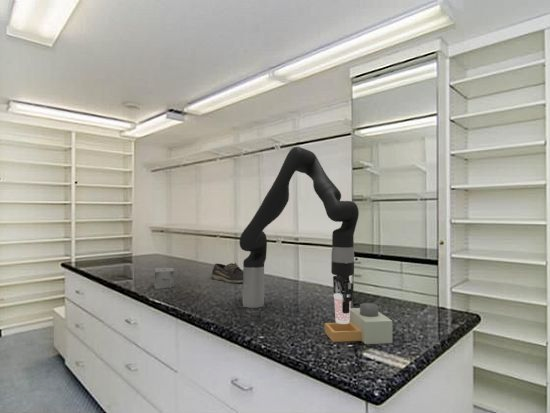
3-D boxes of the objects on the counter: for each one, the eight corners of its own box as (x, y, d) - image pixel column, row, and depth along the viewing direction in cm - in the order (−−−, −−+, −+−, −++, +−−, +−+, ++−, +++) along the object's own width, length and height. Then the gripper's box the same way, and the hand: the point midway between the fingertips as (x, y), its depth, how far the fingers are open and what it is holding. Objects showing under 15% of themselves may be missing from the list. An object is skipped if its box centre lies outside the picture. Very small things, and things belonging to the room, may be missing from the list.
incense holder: (154, 289, 188) (154, 270, 188) (154, 286, 196) (154, 267, 196) (173, 288, 191) (174, 269, 191) (173, 285, 199) (173, 266, 199)
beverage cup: (334, 318, 124) (334, 277, 124) (352, 320, 122) (352, 279, 122) (332, 323, 118) (332, 281, 118) (351, 325, 116) (351, 282, 117)
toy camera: (335, 345, 111) (336, 313, 112) (322, 328, 127) (322, 300, 127) (392, 343, 114) (392, 311, 114) (371, 326, 130) (372, 299, 130)
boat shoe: (245, 285, 201) (245, 266, 201) (205, 280, 216) (205, 262, 216) (256, 282, 210) (256, 264, 210) (217, 277, 225) (217, 260, 225)
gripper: (325, 257, 127) (325, 305, 127) (338, 263, 113) (338, 317, 113) (346, 257, 128) (346, 304, 128) (361, 263, 114) (361, 316, 114)
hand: (342, 310), depth 120 cm, fingers closed on beverage cup, 6 cm apart
